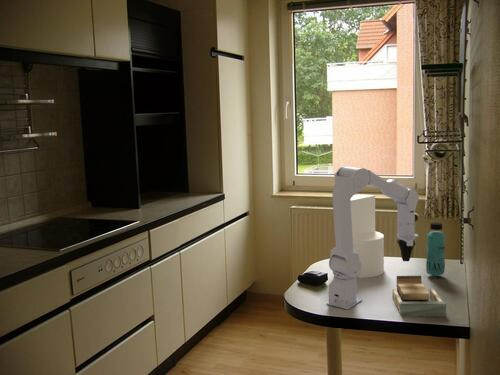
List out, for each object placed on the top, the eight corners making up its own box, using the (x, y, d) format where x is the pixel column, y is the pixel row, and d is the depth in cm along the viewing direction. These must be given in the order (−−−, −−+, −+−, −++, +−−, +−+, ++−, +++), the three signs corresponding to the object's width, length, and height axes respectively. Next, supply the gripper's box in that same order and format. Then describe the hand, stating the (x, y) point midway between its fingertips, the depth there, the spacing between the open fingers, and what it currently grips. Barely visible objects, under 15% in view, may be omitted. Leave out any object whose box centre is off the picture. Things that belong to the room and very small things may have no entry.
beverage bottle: (422, 277, 194) (423, 223, 191) (431, 272, 199) (431, 220, 196) (439, 280, 190) (440, 225, 187) (448, 276, 194) (449, 222, 191)
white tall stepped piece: (328, 270, 207) (327, 199, 202) (358, 260, 217) (357, 193, 213) (363, 280, 193) (362, 204, 189) (393, 270, 204) (393, 198, 199)
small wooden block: (396, 290, 182) (396, 275, 181) (420, 290, 181) (420, 275, 181) (403, 303, 170) (403, 287, 170) (428, 303, 170) (429, 287, 169)
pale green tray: (445, 316, 159) (446, 303, 158) (401, 316, 160) (401, 303, 160) (433, 297, 174) (433, 285, 174) (392, 297, 176) (392, 286, 175)
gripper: (422, 227, 176) (422, 266, 178) (413, 217, 190) (413, 254, 192) (400, 227, 176) (400, 267, 179) (393, 218, 191) (393, 254, 193)
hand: (405, 260), depth 185 cm, fingers closed
